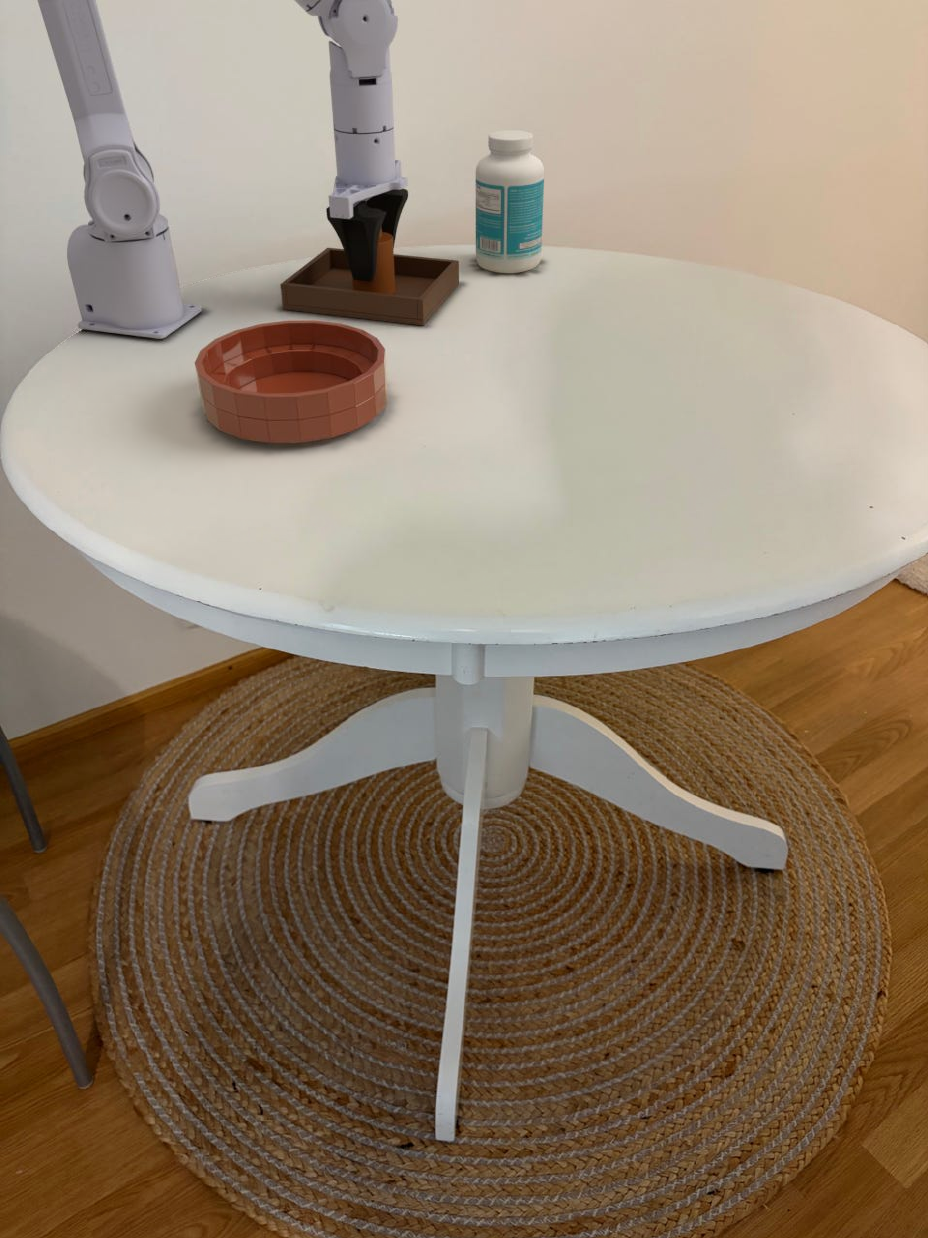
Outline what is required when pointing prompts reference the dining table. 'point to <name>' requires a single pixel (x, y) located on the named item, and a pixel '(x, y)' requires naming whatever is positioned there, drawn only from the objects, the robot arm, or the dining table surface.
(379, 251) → the bottle
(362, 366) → the bowl
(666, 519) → the dining table surface
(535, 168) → the pill bottle
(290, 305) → the tray
